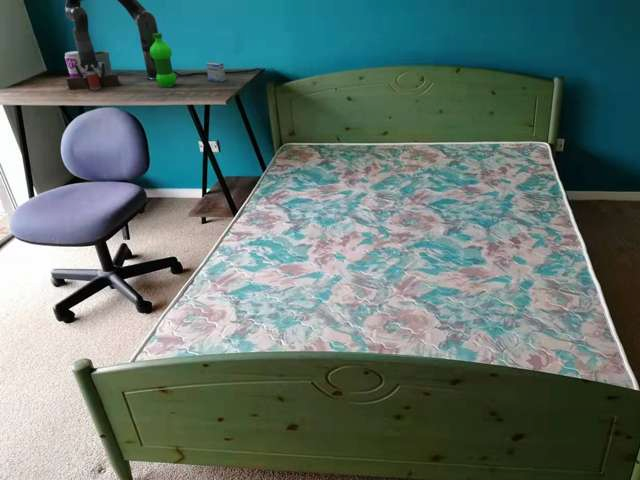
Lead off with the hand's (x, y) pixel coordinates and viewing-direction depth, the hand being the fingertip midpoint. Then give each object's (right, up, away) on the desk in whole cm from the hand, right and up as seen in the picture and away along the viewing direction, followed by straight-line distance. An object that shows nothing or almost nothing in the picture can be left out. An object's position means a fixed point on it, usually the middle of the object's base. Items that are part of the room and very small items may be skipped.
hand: (95, 84), depth 303 cm
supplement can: (-13, +5, +13) cm, 19 cm away
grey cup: (-6, +13, +24) cm, 28 cm away
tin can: (0, -2, +1) cm, 2 cm away
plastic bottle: (+36, 0, +3) cm, 36 cm away
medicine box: (+60, +5, +10) cm, 61 cm away
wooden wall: (-2, +1, +5) cm, 6 cm away
